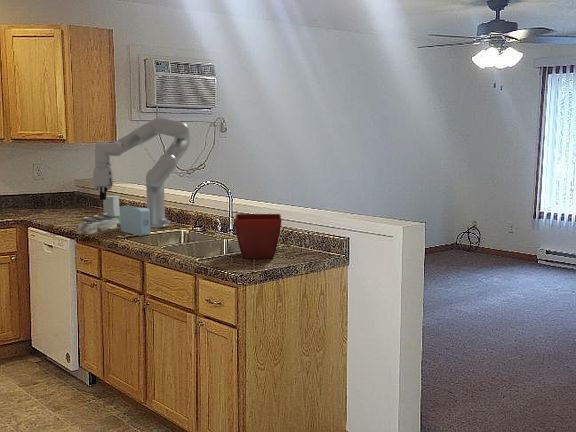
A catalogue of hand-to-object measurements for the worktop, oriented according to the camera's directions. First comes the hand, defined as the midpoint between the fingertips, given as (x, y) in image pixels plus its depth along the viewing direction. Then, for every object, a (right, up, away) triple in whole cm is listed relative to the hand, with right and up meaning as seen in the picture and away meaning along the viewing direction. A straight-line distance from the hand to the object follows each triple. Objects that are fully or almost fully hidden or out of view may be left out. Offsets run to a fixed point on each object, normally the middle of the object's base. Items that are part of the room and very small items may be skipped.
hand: (103, 199), depth 371 cm
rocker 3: (+3, -10, +1) cm, 11 cm away
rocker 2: (0, -11, -7) cm, 13 cm away
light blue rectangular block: (+21, -18, -15) cm, 31 cm away
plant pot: (+87, -26, -79) cm, 120 cm away
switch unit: (+1, -17, -7) cm, 18 cm away
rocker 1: (-4, -12, -14) cm, 19 cm away
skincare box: (0, -13, +20) cm, 24 cm away
